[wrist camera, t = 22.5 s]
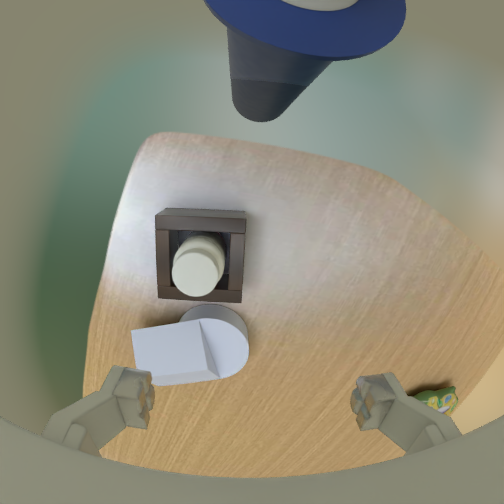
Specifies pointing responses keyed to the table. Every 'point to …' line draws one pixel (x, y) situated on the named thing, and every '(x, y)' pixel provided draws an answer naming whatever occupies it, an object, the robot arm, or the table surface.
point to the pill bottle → (199, 263)
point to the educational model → (439, 399)
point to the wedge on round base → (193, 347)
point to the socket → (208, 222)
